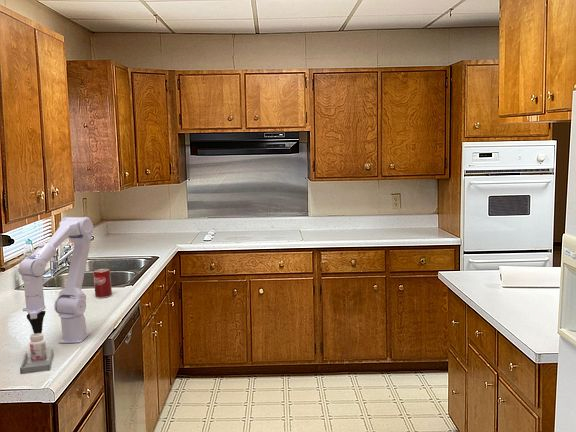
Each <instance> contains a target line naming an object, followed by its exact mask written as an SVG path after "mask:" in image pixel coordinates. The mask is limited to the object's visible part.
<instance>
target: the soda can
mask: <svg viewBox="0 0 576 432" xmlns="http://www.w3.org/2000/svg"><path fill="white" fill-rule="evenodd" d="M92 273H93V285H94V295H95V298H97V299H107V298H110V297H112V296H113V292H112V291H113V289H112V278H111V270H110V269H109V268H98V269H95V270H93V272H92Z"/></svg>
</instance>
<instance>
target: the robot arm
mask: <svg viewBox="0 0 576 432" xmlns="http://www.w3.org/2000/svg"><path fill="white" fill-rule="evenodd" d="M94 228H95V227H94V224H93V222H92V221H91V218H89V217H88V216H84V217H82V216H81V217H79V216H78V217H75V216H65V217H63V218H62V220H60V221H59V223H58V228H57V229H56V231H54V233H53V234H52V235H51V237H50V238H49V239H48V241H47V242H42V243H39V244H38V246H37V248H36V249H35V250H34V251H33V252H32V253H31V254H30V255H29V257H28V258H24V259H22V260H21V262H20V263H19V264H18V265H19V266H18V268H17V271H18V274H19V275H20V276H21V280H22V282H23V289H24V297H25V299H24V301H25V307H23V308H22V312H26V313H27V315H26V319H27V320H28V322H29V323H30V326H31V328H32V332H33V334H35V333H42V334H43V325H44V319H45V318H44V317H45V316H46V305H45V295H44V285H43V275H44V274H45V272H46V268H47V266H48V265H47V264H48V263H49V262H50V261H51V260H52V258H53V257H54V256H55V255H56V249H57V248H58V247H59V246H60V245H62V243H64V241H66V239H69V240H70V241H71V242H72V243H73V251H72V255H71V260H70V263H69V268H68V272H67V279H66V283H65V287H64V288H63V289H61V290H60V291H59V292H58V296H57V298H56V300H55V301H54V310H55V312H56V313H57V314H58V317H60V324H61V326H60V327H61V335H62V338H61V339H60V340H59V341H58V344H71V343H72V344H74V343H75V344H76V343H78V344H80V343H82V342H83V341H84V340H85V339H86V338H87V337H88V336H89V335H90V333H89V332H87V325H86V324H87V323H86V317H85V315H84V314H85V312H86V309H87V294H86V293H84V291H83V290H82V287H83V283H84V277H85V273H86V267H87V263H88V258H89V254H90V253H89V252H90V248H91V242H92V236H93V231H94Z"/></svg>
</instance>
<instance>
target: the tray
mask: <svg viewBox="0 0 576 432" xmlns="http://www.w3.org/2000/svg"><path fill="white" fill-rule="evenodd" d="M54 355H55V354H54V349H51V350H50V355H49V358H48V359H45V360H43V361H38V362H33V361H31V362H30V361H29V362H27V361H28V359H29V356H28V352H25V355H24V356H23V359H22V362H21V363H20V364H21V365H20V367H19V373H20V375H22V374H24V375H25V374H30V373H31V374H32V373H39V372H45V371H46V372H47V371H51V367H52V363H53V358H54Z"/></svg>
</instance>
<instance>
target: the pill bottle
mask: <svg viewBox="0 0 576 432" xmlns="http://www.w3.org/2000/svg"><path fill="white" fill-rule="evenodd" d="M29 338H30V341H29V351H30V359H31V360H30V361H31V362H38V361H46V360H47V349H46V348H47V347H46V340H45V339H44V334H43V332H42V333H35V334H34V333H32V334H30V336H29Z"/></svg>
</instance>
